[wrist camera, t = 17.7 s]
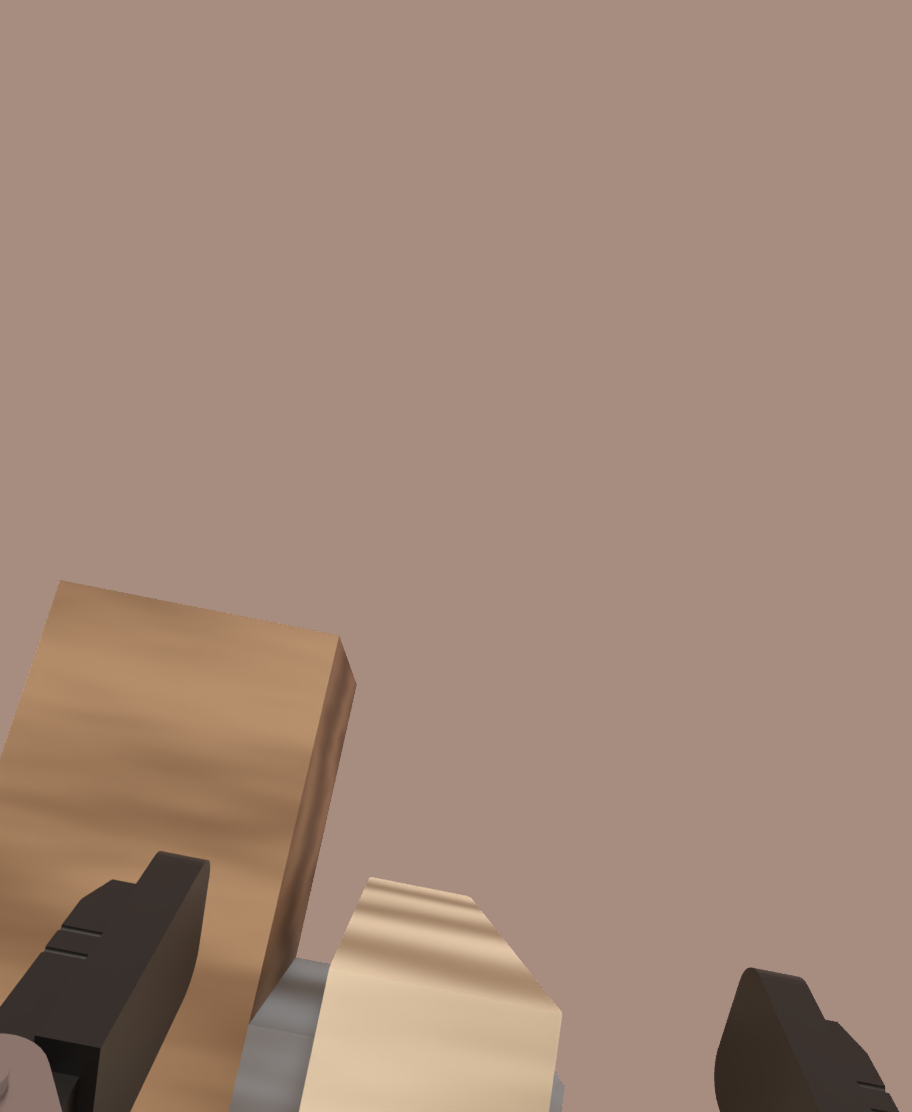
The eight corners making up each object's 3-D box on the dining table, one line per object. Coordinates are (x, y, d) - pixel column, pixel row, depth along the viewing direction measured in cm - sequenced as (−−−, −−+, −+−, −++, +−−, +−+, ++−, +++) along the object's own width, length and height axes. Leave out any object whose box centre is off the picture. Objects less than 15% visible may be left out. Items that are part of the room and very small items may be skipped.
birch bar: (353, 959, 33) (369, 876, 34) (455, 979, 33) (470, 896, 34) (286, 1172, 14) (329, 968, 14) (534, 1220, 14) (562, 1013, 14)
